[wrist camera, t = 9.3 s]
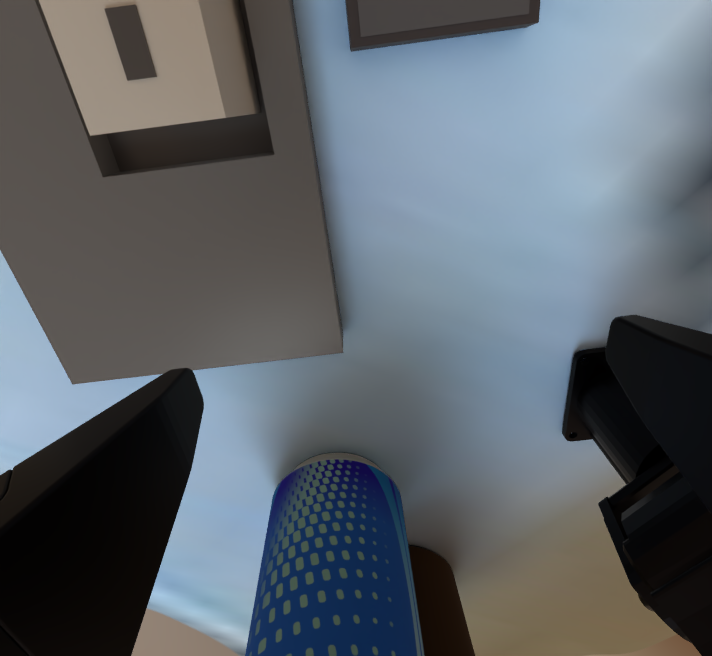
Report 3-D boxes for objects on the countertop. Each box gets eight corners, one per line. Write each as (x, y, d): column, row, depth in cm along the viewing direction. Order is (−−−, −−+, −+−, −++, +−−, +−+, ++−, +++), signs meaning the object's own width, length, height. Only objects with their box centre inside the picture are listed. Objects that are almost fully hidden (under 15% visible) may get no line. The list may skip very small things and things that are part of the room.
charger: (260, 112, 17) (224, 117, 12) (166, 125, 18) (88, 135, 12) (236, -9, 16) (181, -67, 10) (130, 6, 16) (20, -44, 10)
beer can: (297, 539, 31) (260, 902, 17) (257, 458, 27) (165, 842, 13) (409, 517, 30) (467, 879, 16) (384, 431, 26) (433, 808, 12)
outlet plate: (343, 333, 23) (343, 352, 21) (92, 362, 23) (72, 384, 22) (274, -122, 14) (264, -153, 13) (-118, -63, 15) (-179, -85, 13)
